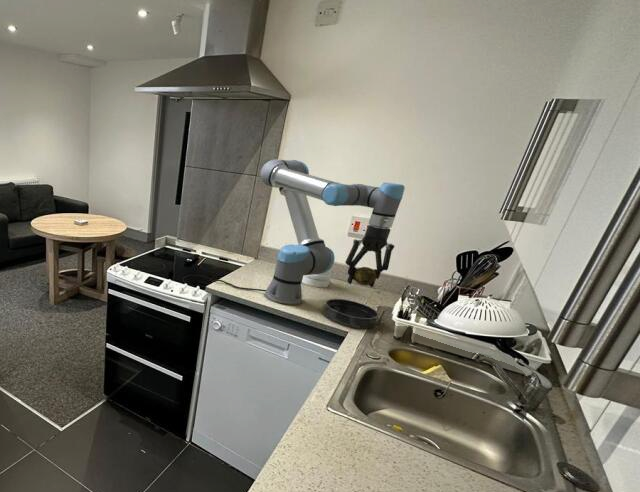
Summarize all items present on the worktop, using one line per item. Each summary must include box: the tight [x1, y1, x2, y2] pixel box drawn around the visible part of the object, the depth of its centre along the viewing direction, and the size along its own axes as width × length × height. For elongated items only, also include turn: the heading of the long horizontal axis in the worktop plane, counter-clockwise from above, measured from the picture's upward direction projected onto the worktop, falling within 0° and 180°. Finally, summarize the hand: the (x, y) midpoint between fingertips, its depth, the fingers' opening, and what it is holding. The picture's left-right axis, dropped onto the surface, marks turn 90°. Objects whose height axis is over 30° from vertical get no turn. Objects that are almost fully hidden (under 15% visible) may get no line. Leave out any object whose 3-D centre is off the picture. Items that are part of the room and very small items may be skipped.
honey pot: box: [301, 268, 332, 288], centre depth 193 cm, size 13×13×18 cm
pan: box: [322, 298, 380, 329], centre depth 157 cm, size 19×19×4 cm
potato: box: [352, 266, 377, 286], centre depth 152 cm, size 8×13×8 cm, turn 150°
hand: (359, 284), depth 154 cm, fingers closed on potato, 7 cm apart
